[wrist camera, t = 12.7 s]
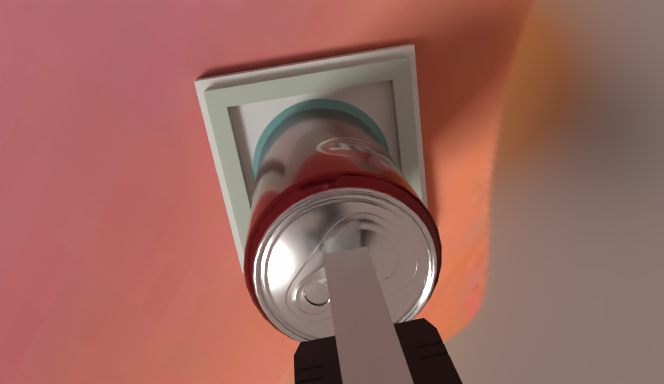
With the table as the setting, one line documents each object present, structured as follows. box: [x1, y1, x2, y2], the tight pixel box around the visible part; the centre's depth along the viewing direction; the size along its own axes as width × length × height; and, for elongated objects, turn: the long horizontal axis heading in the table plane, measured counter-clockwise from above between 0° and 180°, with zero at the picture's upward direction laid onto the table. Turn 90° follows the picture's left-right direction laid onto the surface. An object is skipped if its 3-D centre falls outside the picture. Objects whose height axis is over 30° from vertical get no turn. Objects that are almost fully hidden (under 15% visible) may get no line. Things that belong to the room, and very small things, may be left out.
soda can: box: [243, 108, 442, 342], centre depth 23 cm, size 7×7×12 cm
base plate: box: [194, 44, 428, 273], centre depth 28 cm, size 12×12×2 cm
